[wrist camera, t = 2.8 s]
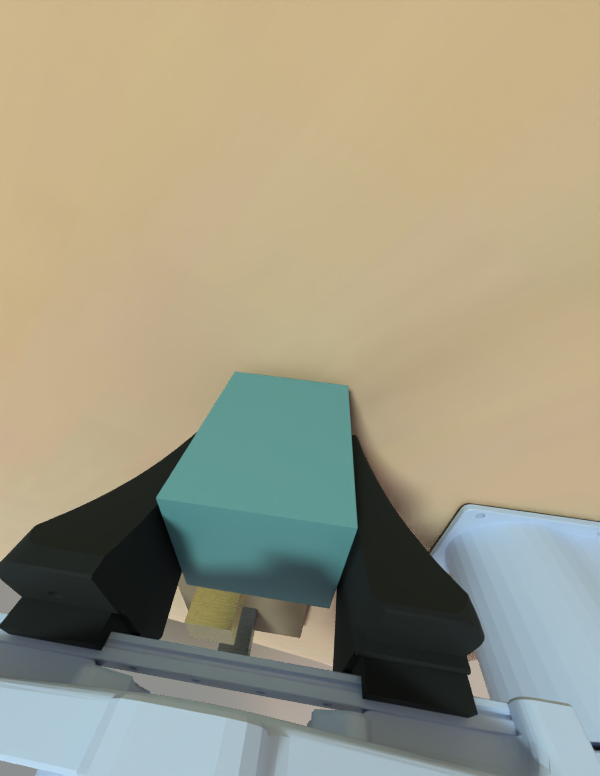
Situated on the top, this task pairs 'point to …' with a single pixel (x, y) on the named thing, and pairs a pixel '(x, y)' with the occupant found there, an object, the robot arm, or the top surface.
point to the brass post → (214, 615)
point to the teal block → (266, 491)
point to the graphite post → (242, 633)
